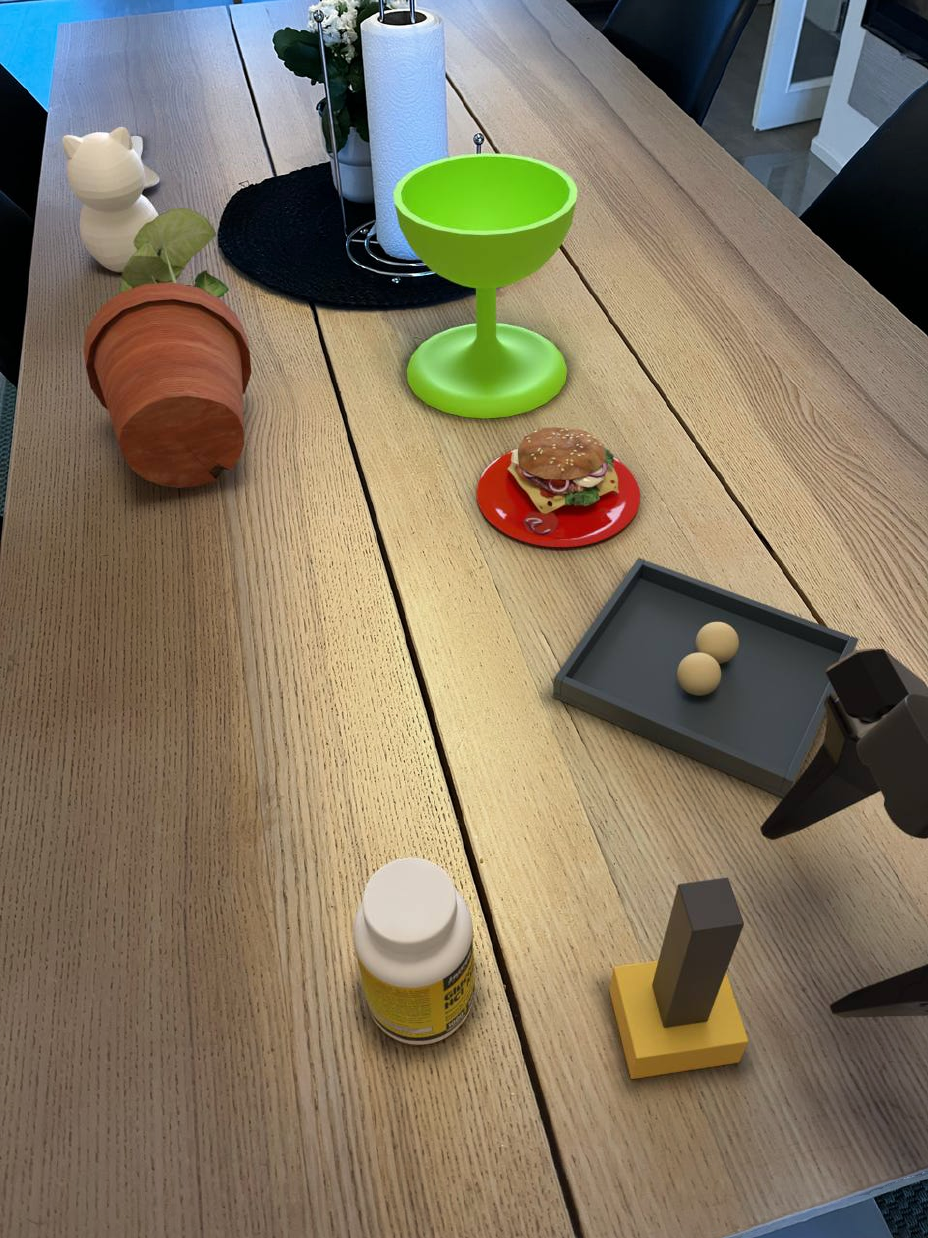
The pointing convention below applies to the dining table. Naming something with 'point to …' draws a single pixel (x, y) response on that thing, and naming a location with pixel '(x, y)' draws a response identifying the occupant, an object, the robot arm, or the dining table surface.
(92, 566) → the dining table surface
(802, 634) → the tray
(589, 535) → the hamburger
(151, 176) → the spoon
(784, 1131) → the dining table surface
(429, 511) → the dining table surface
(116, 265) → the cat figurine
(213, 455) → the potted plant
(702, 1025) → the grey and yellow block
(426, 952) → the pill bottle
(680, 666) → the crumb
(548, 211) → the wineglass
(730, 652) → the crumb
